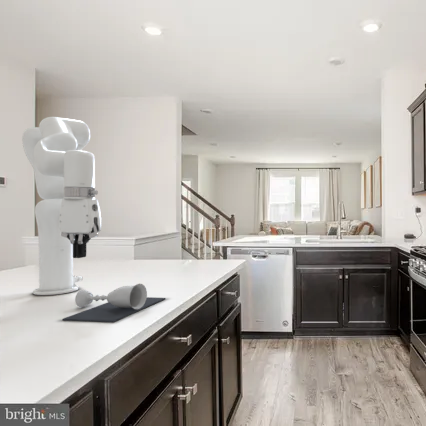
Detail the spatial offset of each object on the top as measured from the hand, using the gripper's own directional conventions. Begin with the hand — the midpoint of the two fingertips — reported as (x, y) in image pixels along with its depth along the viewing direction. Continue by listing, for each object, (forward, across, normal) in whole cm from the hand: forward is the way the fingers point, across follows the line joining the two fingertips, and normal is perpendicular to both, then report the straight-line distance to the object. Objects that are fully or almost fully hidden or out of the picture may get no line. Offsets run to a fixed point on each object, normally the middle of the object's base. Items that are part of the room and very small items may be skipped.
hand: (79, 257), depth 107 cm
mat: (+14, -14, +2) cm, 19 cm away
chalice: (+12, -2, +1) cm, 12 cm away
